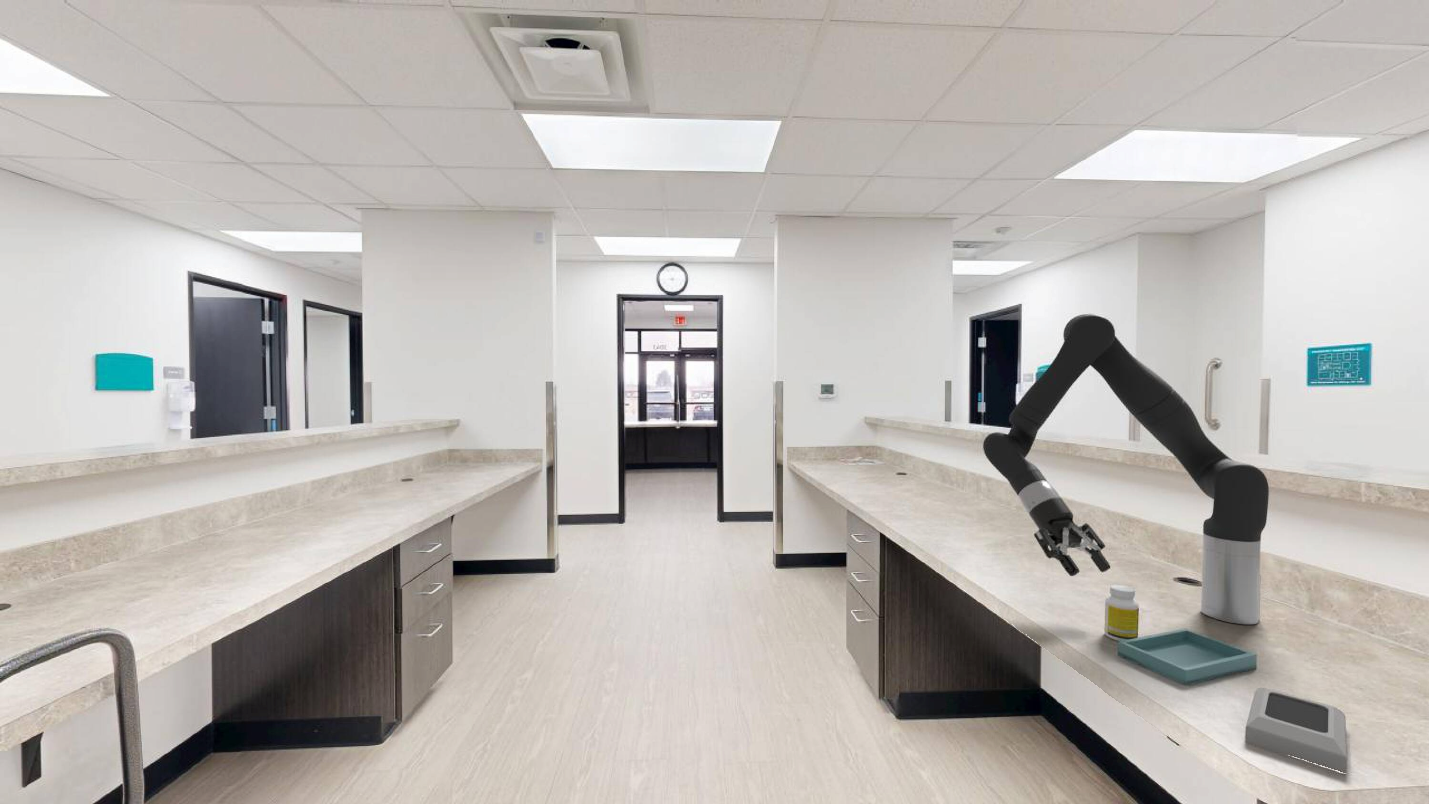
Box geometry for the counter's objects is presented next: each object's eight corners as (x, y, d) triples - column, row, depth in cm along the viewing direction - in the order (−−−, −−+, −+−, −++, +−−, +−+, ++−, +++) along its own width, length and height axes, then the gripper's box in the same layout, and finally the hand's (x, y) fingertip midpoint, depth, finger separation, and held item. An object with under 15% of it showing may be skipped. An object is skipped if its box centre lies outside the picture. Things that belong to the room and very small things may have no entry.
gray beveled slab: (1245, 718, 81) (1255, 681, 92) (1245, 744, 81) (1255, 704, 92) (1347, 749, 74) (1345, 705, 85) (1346, 778, 74) (1344, 730, 85)
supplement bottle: (1143, 644, 112) (1144, 593, 112) (1112, 642, 113) (1113, 591, 113) (1129, 632, 117) (1130, 584, 117) (1099, 630, 118) (1100, 582, 118)
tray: (1185, 641, 113) (1185, 628, 113) (1256, 668, 103) (1256, 654, 102) (1117, 654, 108) (1117, 641, 107) (1185, 685, 97) (1186, 670, 97)
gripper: (1030, 498, 127) (1077, 566, 116) (1079, 494, 131) (1129, 559, 121) (1010, 517, 132) (1053, 584, 121) (1058, 513, 136) (1104, 577, 126)
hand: (1091, 572), depth 121 cm, fingers open, 8 cm apart
